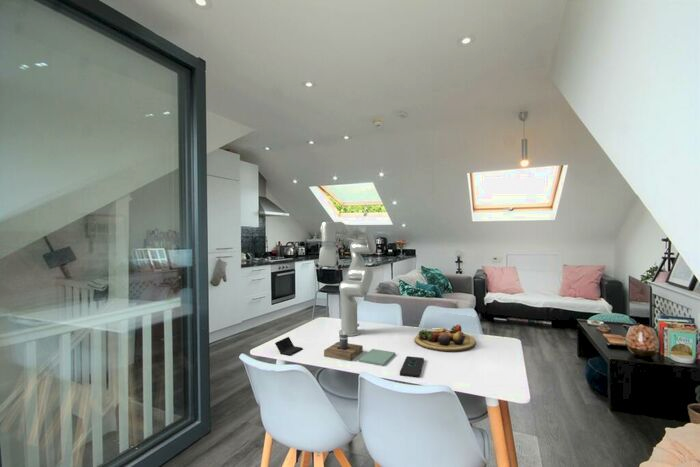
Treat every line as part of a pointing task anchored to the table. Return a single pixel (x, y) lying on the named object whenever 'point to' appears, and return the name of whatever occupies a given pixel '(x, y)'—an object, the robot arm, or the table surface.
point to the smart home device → (412, 367)
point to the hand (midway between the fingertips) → (328, 277)
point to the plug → (343, 341)
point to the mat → (377, 357)
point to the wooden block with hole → (343, 351)
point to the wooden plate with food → (445, 340)
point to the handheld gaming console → (287, 347)
